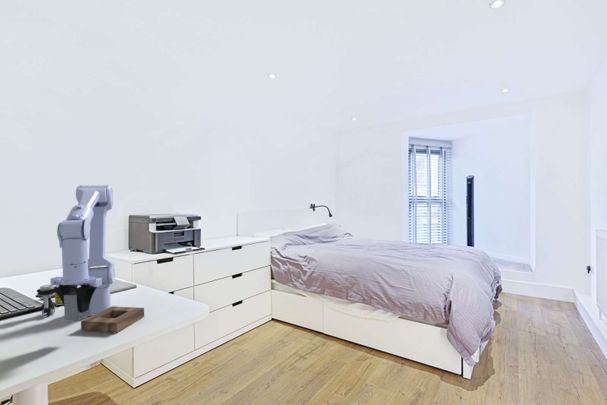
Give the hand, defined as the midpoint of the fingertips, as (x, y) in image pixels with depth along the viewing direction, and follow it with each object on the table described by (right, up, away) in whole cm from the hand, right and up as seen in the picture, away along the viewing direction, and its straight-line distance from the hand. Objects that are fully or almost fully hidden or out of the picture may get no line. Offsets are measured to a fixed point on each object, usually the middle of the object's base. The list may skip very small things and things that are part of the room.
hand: (77, 310), depth 87 cm
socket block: (+4, -8, +11) cm, 14 cm away
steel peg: (0, -2, 0) cm, 2 cm away
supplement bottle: (-27, -8, +30) cm, 41 cm away
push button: (-23, -8, +18) cm, 31 cm away
